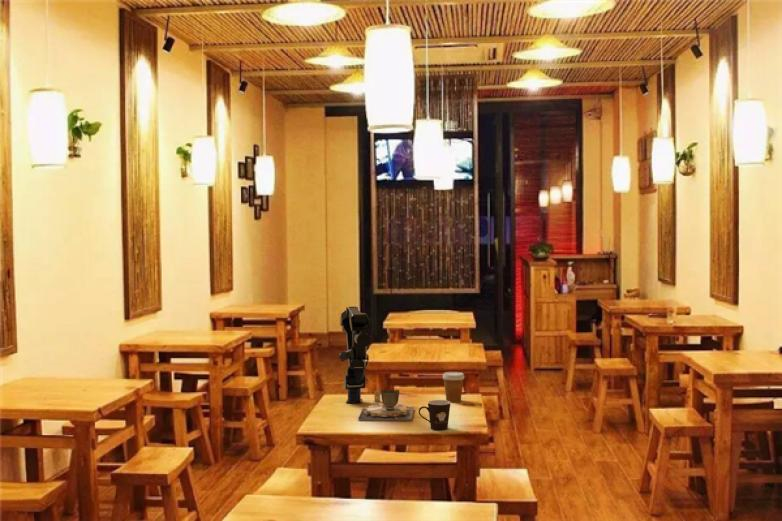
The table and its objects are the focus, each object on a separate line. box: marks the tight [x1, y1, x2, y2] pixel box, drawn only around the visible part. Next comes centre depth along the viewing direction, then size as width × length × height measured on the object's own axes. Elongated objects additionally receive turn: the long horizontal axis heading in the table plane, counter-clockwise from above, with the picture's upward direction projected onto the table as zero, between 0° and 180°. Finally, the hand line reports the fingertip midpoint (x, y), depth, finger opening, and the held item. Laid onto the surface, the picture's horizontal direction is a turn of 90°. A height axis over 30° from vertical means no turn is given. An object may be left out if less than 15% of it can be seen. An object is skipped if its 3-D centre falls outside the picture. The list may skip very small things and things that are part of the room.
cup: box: [380, 388, 400, 411], centre depth 341 cm, size 8×7×8 cm
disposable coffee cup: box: [442, 371, 465, 403], centre depth 369 cm, size 10×10×12 cm
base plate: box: [357, 405, 415, 422], centre depth 345 cm, size 21×21×1 cm
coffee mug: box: [418, 399, 451, 432], centre depth 322 cm, size 12×9×10 cm
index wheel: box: [364, 390, 410, 417], centre depth 345 cm, size 20×19×6 cm
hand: (359, 380), depth 354 cm, fingers open, 9 cm apart
